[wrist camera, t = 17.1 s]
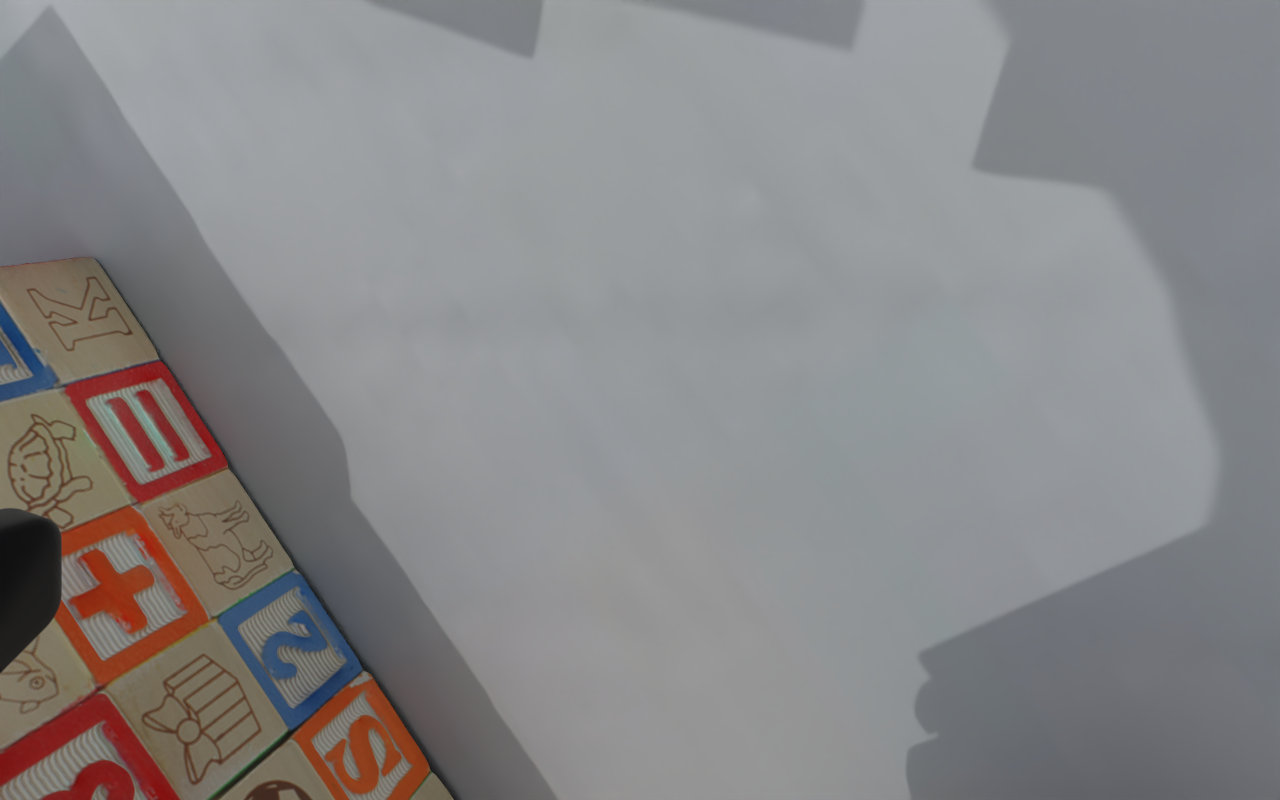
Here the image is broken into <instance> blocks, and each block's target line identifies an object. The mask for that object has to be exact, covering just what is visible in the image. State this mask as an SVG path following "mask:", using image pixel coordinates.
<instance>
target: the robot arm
mask: <svg viewBox="0 0 1280 800" xmlns="http://www.w3.org/2000/svg"><path fill="white" fill-rule="evenodd" d="M61 597H62V537H61V532H60V530H59V527H58V525H57V524H56V523H55V522H53V521H52V520H50V519H48V518H45V517H42V516H39V515H37V514H34V513H31V512H28V511H25V510H21V509H17V508H5V509H0V673H1V672H2V671H3V670H4V669H5V668H6V667H7V666H8V665H9V664H10V663H11V662H12V661H13V660H14V659H15V658H16V657H17V656H18V655H19V654H20V653H21V652H22V651H23V650H24V649H25V648H26V647H27V646H28V645H29V644H30V643H31V642H32V641H33V640H34V639H35V638H36V637H37V636H38V635H39V634H40V633H41V632H42V631H43V630H44V629H45V628H46V627H47V626H48V625H49V624H50V622H51V621H52V619H53V618H54V616H55V615H56V613H57V611H58V609H59V606H60V602H61Z"/></svg>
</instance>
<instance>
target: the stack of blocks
mask: <svg viewBox="0 0 1280 800" xmlns="http://www.w3.org/2000/svg"><path fill="white" fill-rule="evenodd" d="M5 508H17V509H21V510H25V511H28V512H31V513H34V514H37V515H39V516H42V517H45V518H48V519H50V520H52V521H53V522H55V523H56V524H57V525H58V527H59V530H60V532H61V537H62V597H61V602H60V606H59V609H58V611H57V613H56V615H55V616H54V618H53V619H52V621H51V622H50V624H49V625H48V626H47V627H46V628H45V629H44V630H43V631H42V632H41V633H40V634H39V635H38V636H37V637H36V638H35V639H34V640H33V641H32V642H31V643H30V644H29V645H28V646H27V647H26V648H25V649H24V650H23V651H22V652H21V653H20V654H19V655H18V656H17V657H16V658H15V659H14V660H13V661H12V662H11V663H10V664H9V665H8V666H7V667H6V668H5V669H4V670H3V671H2V672H1V673H0V800H454V799H453V798H452V796H451V795H450V793H449V792H448V790H447V789H446V787H445V786H444V785H443V784H442V782H441V781H440V780H439V778H438V777H437V776H436V775H435V774H434V773H433V772H431V770H430V767H429V764H428V762H427V760H426V758H425V757H424V755H423V753H422V752H421V750H420V748H419V747H418V745H417V744H416V742H415V741H414V739H413V738H412V736H411V735H410V734H409V732H408V731H407V729H406V728H405V726H404V724H403V723H402V721H401V720H400V718H399V717H398V715H397V713H396V712H395V710H394V709H393V707H392V706H391V704H390V703H389V701H388V700H387V698H386V697H385V695H384V694H383V692H382V691H381V690H380V688H379V687H378V685H377V683H376V682H375V680H374V678H373V677H372V675H371V674H369V673H368V672H366V671H364V670H363V669H362V667H361V664H360V662H359V660H358V659H357V657H356V656H355V654H354V652H353V651H352V649H351V648H350V646H349V645H348V644H347V642H346V641H345V639H344V638H343V636H342V635H341V633H340V632H339V630H338V629H337V627H336V626H335V624H334V623H333V621H332V620H331V618H330V617H329V616H328V614H327V613H326V611H325V610H324V608H323V606H322V605H321V603H320V602H319V600H318V599H317V597H316V596H315V594H314V593H313V591H312V590H311V588H310V587H309V585H308V584H307V582H306V581H305V579H304V578H303V576H302V575H301V574H300V573H299V572H298V571H297V570H296V569H295V568H294V566H293V564H292V561H291V559H290V558H289V556H288V555H287V553H286V552H285V551H284V549H283V548H282V546H281V545H280V543H279V541H278V540H277V538H276V537H275V535H274V534H273V532H272V531H271V529H270V528H269V526H268V525H267V523H266V522H265V520H264V519H263V517H262V516H261V514H260V513H259V511H258V510H257V508H256V507H255V505H254V504H253V502H252V501H251V499H250V498H249V496H248V495H247V493H246V492H245V490H244V488H243V487H242V485H241V484H240V482H239V481H238V479H237V478H236V476H235V475H234V474H233V473H232V472H231V471H230V470H229V468H228V463H227V460H226V458H225V456H224V454H223V453H222V451H221V449H220V448H219V446H218V445H217V443H216V442H215V440H214V439H213V437H212V436H211V434H210V432H209V431H208V429H207V428H206V426H205V425H204V423H203V422H202V420H201V419H200V417H199V416H198V414H197V412H196V411H195V410H194V408H193V407H192V405H191V404H190V402H189V401H188V399H187V398H186V396H185V394H184V393H183V391H182V390H181V388H180V387H179V385H178V384H177V382H176V380H175V379H174V377H173V376H172V374H171V373H170V371H169V370H168V368H167V367H166V365H164V364H163V363H162V362H161V361H160V359H159V357H158V354H157V352H156V350H155V348H154V346H153V344H152V343H151V341H150V340H149V338H148V336H147V335H146V333H145V332H144V330H143V329H142V327H141V326H140V324H139V323H138V321H137V320H136V318H135V317H134V315H133V314H132V312H131V311H130V309H129V308H128V306H127V305H126V303H125V302H124V300H123V299H122V297H121V296H120V294H119V293H118V291H117V290H116V288H115V287H114V285H113V284H112V282H111V281H110V279H109V278H108V276H107V275H106V273H105V272H104V270H103V269H102V267H101V266H100V265H99V263H98V262H96V261H95V260H94V259H93V258H89V257H81V258H71V259H63V260H56V261H48V262H41V263H32V264H30V263H26V264H21V265H12V266H2V267H0V509H5Z"/></svg>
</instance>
